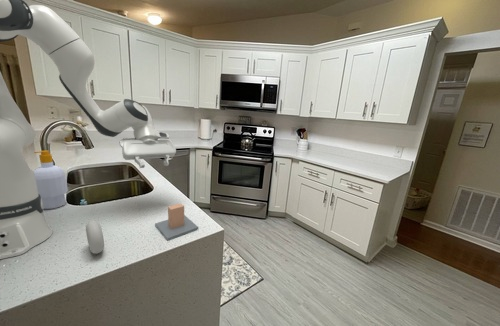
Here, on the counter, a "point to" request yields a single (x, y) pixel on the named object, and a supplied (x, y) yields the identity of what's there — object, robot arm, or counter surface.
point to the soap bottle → (50, 182)
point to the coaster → (176, 229)
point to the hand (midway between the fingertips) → (155, 166)
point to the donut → (95, 237)
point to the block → (175, 216)
